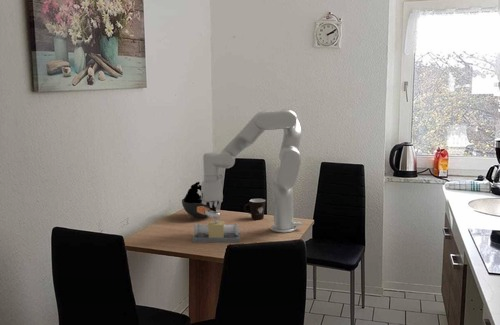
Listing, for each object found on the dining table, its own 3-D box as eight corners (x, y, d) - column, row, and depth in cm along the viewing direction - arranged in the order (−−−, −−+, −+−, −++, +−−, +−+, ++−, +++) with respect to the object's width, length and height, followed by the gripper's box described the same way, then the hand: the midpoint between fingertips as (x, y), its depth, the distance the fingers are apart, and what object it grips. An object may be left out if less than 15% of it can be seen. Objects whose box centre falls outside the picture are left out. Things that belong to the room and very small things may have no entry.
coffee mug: (265, 216, 295) (264, 198, 294) (266, 220, 287) (265, 202, 285) (243, 216, 295) (243, 199, 294) (244, 220, 286) (244, 202, 285)
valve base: (240, 235, 259) (240, 215, 257) (239, 241, 249) (239, 220, 247) (195, 235, 259) (194, 215, 258) (192, 242, 249) (191, 220, 248)
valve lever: (202, 211, 266) (202, 205, 266) (220, 218, 252) (220, 212, 252) (196, 212, 265) (196, 206, 264) (215, 219, 250) (215, 213, 250)
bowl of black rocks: (213, 222, 283) (212, 187, 281) (177, 221, 287) (176, 186, 285) (222, 213, 303) (222, 181, 300) (188, 212, 307) (187, 180, 304)
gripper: (223, 175, 267) (224, 211, 270) (194, 178, 261) (195, 215, 264) (228, 177, 260) (229, 214, 263) (199, 180, 254) (200, 218, 257)
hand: (212, 214), depth 264 cm, fingers closed
